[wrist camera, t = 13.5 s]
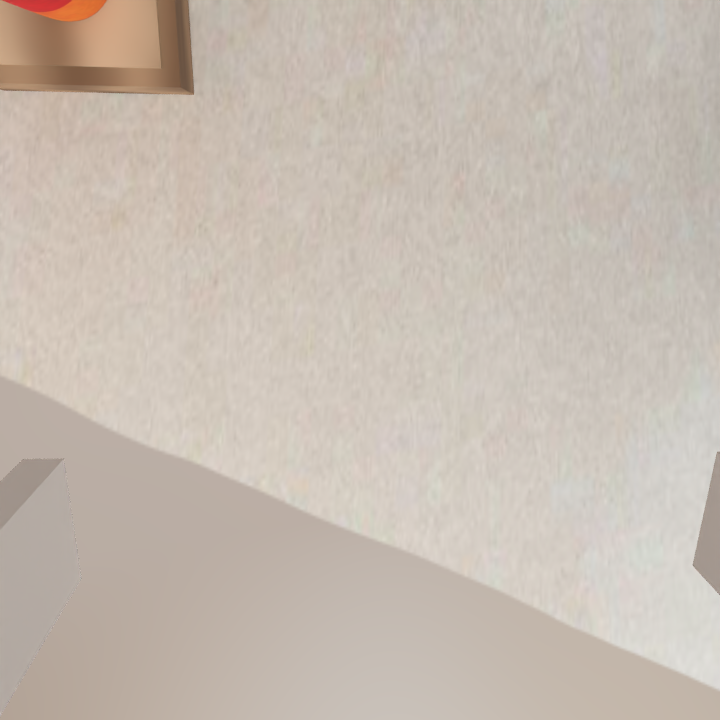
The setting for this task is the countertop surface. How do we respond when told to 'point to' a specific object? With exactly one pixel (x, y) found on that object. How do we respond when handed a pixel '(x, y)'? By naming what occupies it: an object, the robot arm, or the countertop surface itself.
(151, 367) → the countertop surface
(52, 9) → the paper cup
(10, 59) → the plinth
